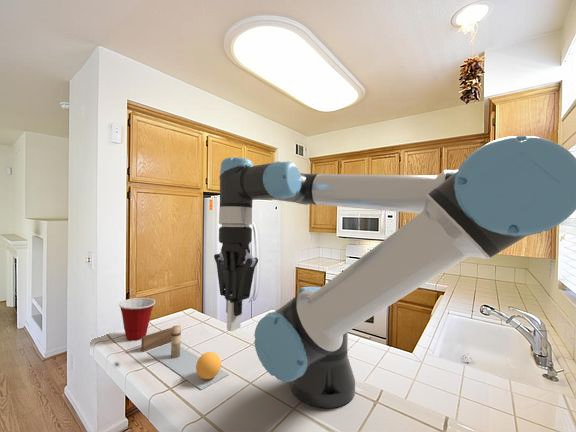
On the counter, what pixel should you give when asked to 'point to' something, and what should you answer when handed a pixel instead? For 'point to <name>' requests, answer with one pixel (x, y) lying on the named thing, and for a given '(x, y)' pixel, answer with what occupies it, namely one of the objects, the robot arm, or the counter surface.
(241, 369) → the counter surface
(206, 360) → the ball
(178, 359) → the lane mark
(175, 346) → the pin
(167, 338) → the board
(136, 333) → the plastic cup
